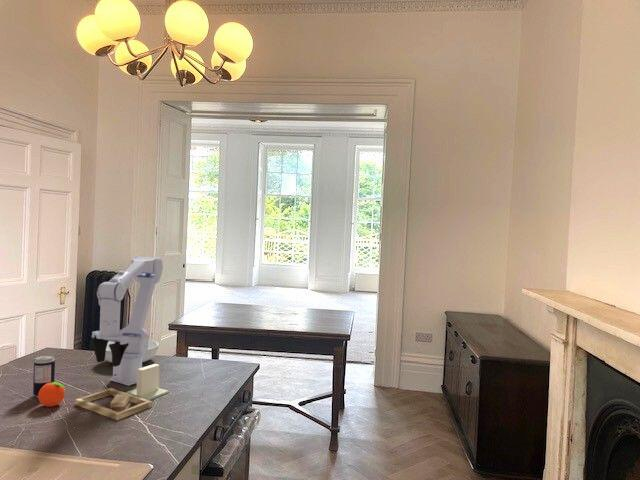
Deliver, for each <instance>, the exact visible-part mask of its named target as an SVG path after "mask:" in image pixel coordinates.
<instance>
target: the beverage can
mask: <svg viewBox="0 0 640 480" xmlns="http://www.w3.org/2000/svg"><path fill="white" fill-rule="evenodd" d="M54 357H55V356H54V355H53V354H52V355H51V354H44V355H38V356H36V357H35V359H34V362H33V379H32V381H33V387H32V390H33V391H32V395H33V396H34V397H36V398H38V394H39V391H40V389H41V388H42V387H43V386H44V385H45V384H47V383H50V382H56V377H55V376H56V373H55V372H56V359H55V358H54ZM38 399H39V398H38Z"/></svg>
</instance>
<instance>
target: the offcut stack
mask: <svg viewBox="0 0 640 480" xmlns="http://www.w3.org/2000/svg"><path fill="white" fill-rule="evenodd" d="M131 404H132V402H130V394H117V395H116V396H114V398H113V399H112V400H111V402H110V408H111V410H113V411H116V412H120V411H123V410H125V409H128V408H131Z"/></svg>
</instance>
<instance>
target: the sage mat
mask: <svg viewBox="0 0 640 480" xmlns="http://www.w3.org/2000/svg"><path fill="white" fill-rule="evenodd" d="M125 393H128V394H131V395H134V396H137V397H141V398H144V399H147V400H150V401H152V400H154V399H156V398H159V397H162V396H163V395H166V394H167V395H168V394H169V393H170V391H169V390H167V389H163V388H160V387H159V389H158V390H155V391H152V392H149V393H147V394H144V395H138V394H137V388H133V389H131V390H128V391H126V392H125Z"/></svg>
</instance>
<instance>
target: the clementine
mask: <svg viewBox="0 0 640 480" xmlns="http://www.w3.org/2000/svg"><path fill="white" fill-rule="evenodd" d="M66 391H67V390H66V387H65V386H64V385H63V384H62V383H59V382H58V381H55V382H50V383H47V384H45V385H44V386H43V387H42V388H41V389H40V391H39V394H38V401H39V403H40V404H41V405H43V406H45V407H55V406H58V404H60V403H62V401H63V400H64V397H65V395H66Z"/></svg>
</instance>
